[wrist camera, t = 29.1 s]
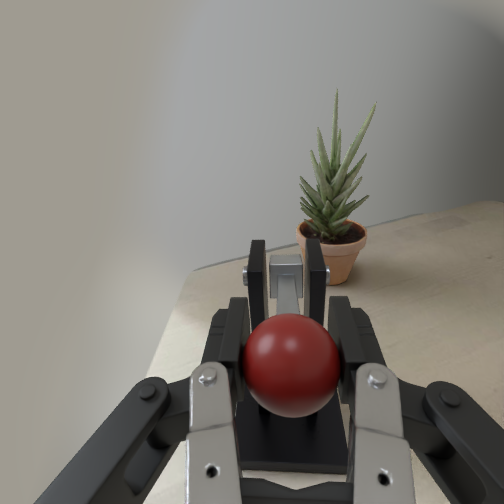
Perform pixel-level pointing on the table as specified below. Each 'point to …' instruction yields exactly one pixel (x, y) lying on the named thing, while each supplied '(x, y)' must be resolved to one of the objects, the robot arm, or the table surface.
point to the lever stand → (286, 428)
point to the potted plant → (334, 205)
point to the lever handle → (290, 350)
